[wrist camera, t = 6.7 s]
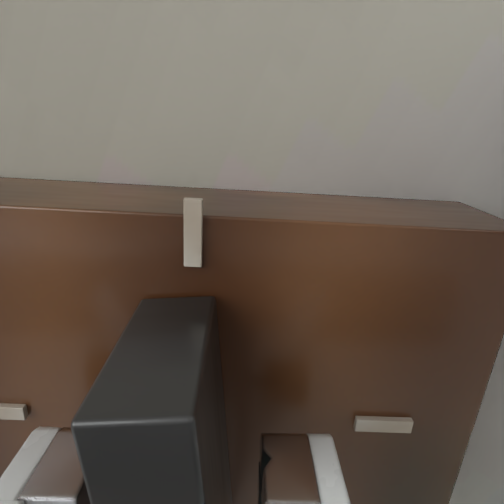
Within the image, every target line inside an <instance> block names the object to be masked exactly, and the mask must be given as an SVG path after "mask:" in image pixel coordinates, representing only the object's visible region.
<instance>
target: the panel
mask: <svg viewBox="0 0 504 504" xmlns="http://www.w3.org/2000/svg"><path fill="white" fill-rule="evenodd" d="M202 296H213V297H215V299H216V307H217V319H218V331H219V344H220V356H221V368H222V381H223V393H224V405H225V417H226V430H227V442H228V454H229V467H230V479H231V491H232V503H233V504H258V490H257V488H258V463H259V462H260V436H261V433H301V434H306V435H307V434H330V435H331V436H332V437H333V440H334V444H335V448H336V451H337V455H338V459H339V462H340V466H341V470H342V473H343V477H344V481H345V484H346V488H347V492H348V495H349V499H350V503H351V504H449V501H450V498H451V495H452V492H453V489H454V486H455V482H456V479H457V476H458V473H459V470H460V467H461V464H462V461H463V458H464V455H465V452H466V449H467V446H468V442H469V439H470V436H471V433H472V430H473V427H474V424H475V421H476V418H477V415H478V412H479V409H480V406H481V403H482V399H483V396H484V393H485V390H486V387H487V384H488V381H489V378H490V375H491V372H492V369H493V366H494V363H495V359H496V356H497V353H498V350H499V347H500V344H501V341H502V338H503V335H504V220H503V219H500V218H498V217H495V216H493V215H490V214H488V213H485V212H483V211H480V210H478V209H475V208H473V207H470V206H468V205H465V204H463V203H460V202H451V201H432V200H414V199H395V198H376V197H357V196H339V195H320V194H301V193H283V192H264V191H245V190H227V189H208V188H189V187H170V186H152V185H133V184H114V183H96V182H77V181H58V180H40V179H21V178H2V177H0V477H1V476H2V474H3V473H4V471H5V470H6V468H7V467H8V466H9V464H10V463H11V461H12V460H13V458H14V457H15V455H16V454H17V452H18V451H19V450H20V448H21V447H22V445H23V444H24V442H25V441H26V439H27V438H28V437H29V435H30V434H31V432H32V431H34V430H35V429H36V428H38V427H39V426H41V427H60V428H63V427H70V428H71V422H72V419H73V418H74V416H75V414H76V412H77V411H78V409H79V407H80V405H81V404H82V402H83V400H84V399H85V397H86V395H87V393H88V392H89V390H90V388H91V386H92V385H93V383H94V381H95V379H96V378H97V376H98V374H99V372H100V371H101V369H102V367H103V366H104V364H105V362H106V360H107V359H108V357H109V355H110V353H111V352H112V350H113V348H114V346H115V345H116V343H117V341H118V340H119V338H120V336H121V334H122V333H123V331H124V329H125V327H126V326H127V324H128V322H129V320H130V319H131V317H132V315H133V313H134V312H135V310H136V308H137V307H138V305H139V303H140V301H141V300H143V299H155V298H178V297H202Z"/></svg>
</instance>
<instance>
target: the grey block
mask: <svg viewBox="0 0 504 504" xmlns="http://www.w3.org/2000/svg"><path fill="white" fill-rule="evenodd" d="M71 431H72V435H73V438H74V442H75V446H76V450H77V454H78V458H79V461H80V465H81V469H82V473H83V477H84V481H85V484H86V488H87V492H88V496H89V500H90V504H233V503H232V491H231V479H230V467H229V454H228V442H227V430H226V417H225V405H224V393H223V381H222V368H221V356H220V344H219V331H218V319H217V307H216V299H215V297H213V296H202V297H178V298H155V299H143V300H141V301H140V303H139V305H138V307H137V308H136V310H135V312H134V313H133V315H132V317H131V319H130V320H129V322H128V324H127V326H126V327H125V329H124V331H123V333H122V334H121V336H120V338H119V340H118V341H117V343H116V345H115V346H114V348H113V350H112V352H111V353H110V355H109V357H108V359H107V360H106V362H105V364H104V366H103V367H102V369H101V371H100V372H99V374H98V376H97V378H96V379H95V381H94V383H93V385H92V386H91V388H90V390H89V392H88V393H87V395H86V397H85V399H84V400H83V402H82V404H81V405H80V407H79V409H78V411H77V412H76V414H75V416H74V418H73V419H72V422H71Z"/></svg>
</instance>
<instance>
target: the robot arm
mask: <svg viewBox="0 0 504 504" xmlns="http://www.w3.org/2000/svg"><path fill="white" fill-rule="evenodd" d="M257 490H258V504H351V503H350V499H349V495H348V492H347V488H346V484H345V481H344V477H343V473H342V470H341V466H340V462H339V459H338V455H337V451H336V448H335V444H334V440H333V437H332V436H331V435H330V434H307V435H306V434H301V433H261V436H260V462H259V463H258V488H257ZM0 504H90V500H89V496H88V492H87V488H86V484H85V481H84V477H83V473H82V469H81V465H80V461H79V458H78V454H77V450H76V446H75V442H74V438H73V435H72V431H71V428H70V427H63V428H60V427H41V426H39V427H38V428H36V429H35V430H34V431H32V432H31V434H30V435H29V437H28V438H27V439H26V441H25V442H24V444H23V445H22V447H21V448H20V450H19V451H18V452H17V454H16V455H15V457H14V458H13V460H12V461H11V463H10V464H9V466H8V467H7V468H6V470H5V471H4V473H3V474H2V476H1V477H0Z"/></svg>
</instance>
